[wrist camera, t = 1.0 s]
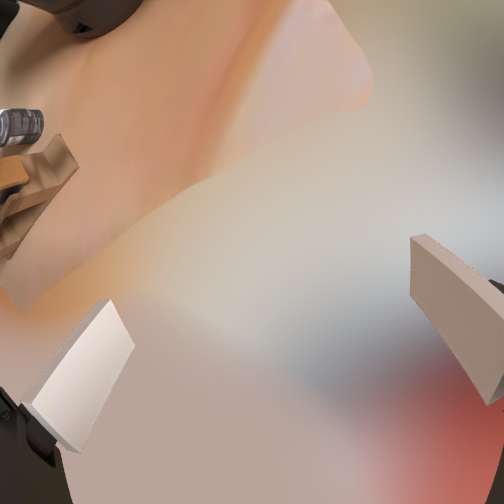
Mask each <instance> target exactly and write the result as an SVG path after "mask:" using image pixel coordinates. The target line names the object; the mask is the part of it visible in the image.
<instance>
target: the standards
mask: <svg viewBox="0 0 504 504" xmlns="http://www.w3.org/2000/svg"><path fill="white" fill-rule="evenodd" d="M19 158H20V161H21V163H22V165H23V167H24V169H25V171H26V173H27V175H28V177H29V179H28V181H27V182H26V183H25V184H24V186H23V187H22V189H21V191H20V192H19V193H16V194H13V195H10V196H9V197H8V199H7V201H6V203H5V204H4V206H3V208H2V210H1V212H0V217H1V219H2V218H4V219H3V221H2V223H1V225H0V258H1V257H3V256H6V258H7V260H10V259H11V258H12V256H13V255H14V253H15V251H16V250H17V248H18V247H19V245H20V243H21V242H22V240H23V239H24V237H25V236H26V234H27V233H28V232H29V230H30V229H31V227H32V226H33V224H34V223H35V222H36V220H37V219H38V217H39V216H40V215H41V213H42V212H43V211H44V209H45V208H46V207H47V206H48V204H49V203H50V202H51V200H52V199H53V198H54V197H55V195H56V194H57V193H58V192H59V191H60V189H61V188H62V187H63V186H64V185H65V183H66V182H67V181H68V180H69V179H70V178H71V176H72V175H73V174H74V173H75V172H76V171H77V170H78V169H79V166H78V164H77V163H76V161H75V159H74V158H73V156H72V154H71V152H70V151H69V149H68V147H67V145H66V144H65V142H64V140H63V138H62V137H61V135H60V134H56V135H55V137H54V138H53V139H52V140H51V142H50V143H49V144H48V146H47V147H46V148H45V150H44V151H43V152H41V153H34V154H28V155H22V156H19Z"/></svg>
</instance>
